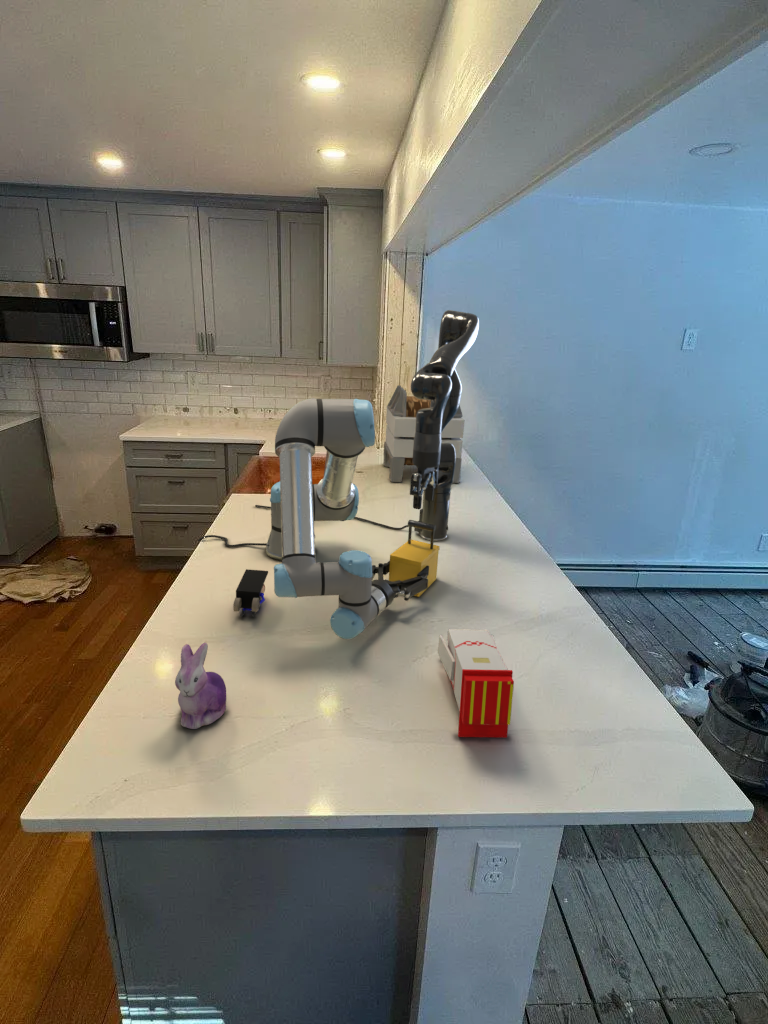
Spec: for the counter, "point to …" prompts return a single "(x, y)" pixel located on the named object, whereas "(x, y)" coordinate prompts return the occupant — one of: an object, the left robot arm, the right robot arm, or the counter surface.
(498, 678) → the toy
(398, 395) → the grey storage bin
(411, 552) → the yellow handled panel
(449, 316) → the right robot arm
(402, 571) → the chest
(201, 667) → the figurine
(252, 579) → the figurine character
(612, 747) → the counter surface
